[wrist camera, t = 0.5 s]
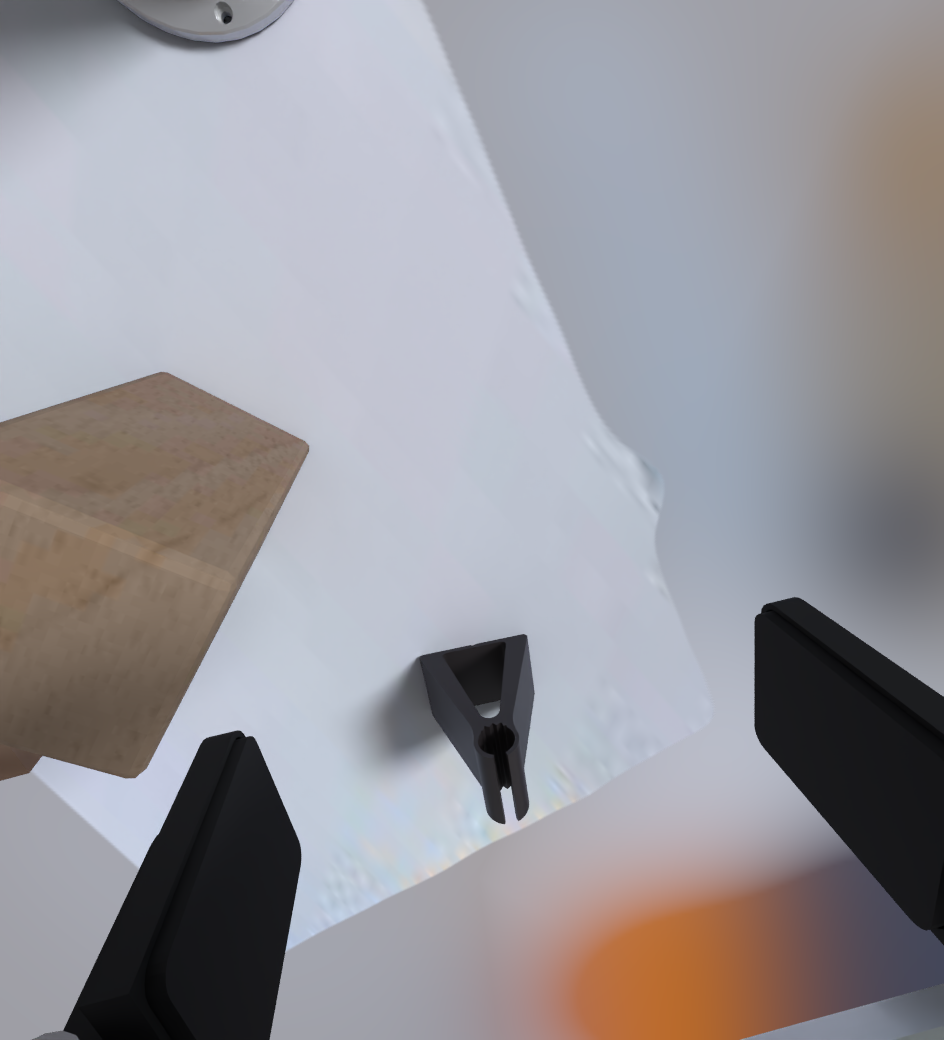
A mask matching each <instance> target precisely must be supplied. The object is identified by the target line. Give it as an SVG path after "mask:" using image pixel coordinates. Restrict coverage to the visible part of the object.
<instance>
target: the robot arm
mask: <svg viewBox="0 0 944 1040" xmlns="http://www.w3.org/2000/svg"><path fill="white" fill-rule="evenodd" d="M118 1H119V2H120V3H121V4H123V5H124V6H125V7H127V8H128V9H129V10H130V11H132V12H133V13H134V14H136V15H137V16H138V17H140V18H141V19H142V20H144V21H146V22H148V23H150V24H152V25H154V26H156V27H157V28H159V29H161V30H163V31H165V32H167V33H170V34H173V35H176V36H180V37H183V38H186V39H189V40H193V41H205V42H216V43H217V42H224V41H231V40H238V39H242V38H244V37H247V36H249V35H252V34H254V33H256V32H259V31H261V30H263V29H264V28H265V27H267V26H268V25H269V24H271V23H272V22H273V21H275V20H276V19H277V18H279V17H280V16H281V15H282V14H283V12H284V11H285V10H286V9H287V8H288V7H289V5H290V4H291V3H292V2H293V1H294V0H118ZM225 16H231V17H232V21H231V22H230V23H228V24H224V21H223V20H224V17H225ZM755 731H756V735H757V737H758V739H759V741H760V743H761V745H762V746H763V747H764V749H765V750H766V751H767V752H768V753H769V755H770V756H771V757H772V758H773V759H774V760H775V762H776V763H777V764H778V765H779V766H780V767H781V769H782V770H783V771H784V772H785V773H786V774H787V776H788V777H789V778H790V779H791V780H792V781H793V783H794V784H795V785H796V786H797V787H798V789H800V791H801V792H802V793H803V794H804V795H805V797H806V798H807V799H808V800H809V801H810V802H811V804H812V805H813V806H814V807H815V808H816V809H817V811H818V812H819V813H820V814H821V815H822V817H823V818H824V819H825V820H826V821H827V822H828V823H829V825H830V826H831V827H832V828H833V829H834V831H835V832H836V833H837V834H838V835H839V836H840V838H841V839H842V840H843V841H844V842H845V843H846V845H847V846H848V847H849V848H850V849H851V850H852V852H853V853H854V854H855V855H856V856H857V858H858V859H859V860H860V861H861V862H862V863H863V864H864V866H865V867H866V868H867V869H868V870H869V872H870V873H871V874H872V875H873V876H874V877H875V878H876V880H877V881H878V882H879V883H880V884H881V886H882V887H883V888H884V889H885V890H886V891H887V893H888V894H889V895H890V896H891V897H892V898H893V900H894V901H895V902H896V903H897V904H898V905H899V907H900V908H901V909H902V910H903V911H904V913H905V914H906V915H907V916H908V917H909V918H910V919H911V920H912V921H913V922H914V923H915V924H916V925H917V926H919V927H920V928H921V929H924V930H931V931H932V932H933V933H934V935H935V936H936V937H937V938H938V939H939V940H940V941H941V943H942V944H943V945H944V697H943V696H942V695H940V694H939V693H937V692H936V691H934V690H933V689H931V688H930V687H929V686H927V685H926V684H924V683H923V682H921V681H920V680H918V679H917V678H916V677H914V676H913V675H911V674H909V673H908V672H907V671H905V670H904V669H902V668H901V667H900V666H898V665H897V664H895V663H894V662H892V661H891V660H889V659H888V658H887V657H885V656H884V655H882V654H881V653H879V652H878V651H876V650H875V649H874V648H872V647H871V646H869V645H868V644H866V643H865V642H863V641H862V640H861V639H859V638H858V637H856V636H855V635H853V634H852V633H850V632H849V631H847V630H846V629H845V628H843V627H842V626H840V625H839V624H837V623H836V622H834V621H833V620H832V619H830V618H829V617H827V616H826V615H824V614H823V613H821V612H820V611H818V610H817V609H816V608H814V607H813V606H811V605H810V604H808V603H807V602H805V601H804V600H802V599H800V598H796V597H794V598H790V599H785V600H781V601H777V602H773V603H769V604H766V605H764V606H763V608H762V611H761V614H758V615H757V616H756V617H755ZM300 867H301V847H300V843H299V840H298V837H297V835H296V833H295V830H294V828H293V826H292V823H291V821H290V819H289V816H288V814H287V812H286V809H285V807H284V805H283V802H282V800H281V798H280V795H279V793H278V791H277V788H276V786H275V784H274V781H273V779H272V777H271V774H270V772H269V770H268V767H267V765H266V763H265V760H264V758H263V756H262V753H261V751H260V749H259V746H258V744H257V742H256V740H255V738H254V737H252V736H249V737H245V735H244V734H243V733H242V732H241V731H233V732H229V733H225V734H221V735H217V736H212V737H208V738H206V739H204V740H203V742H202V743H201V745H200V747H199V749H198V751H197V753H196V756H195V758H194V760H193V762H192V764H191V766H190V768H189V771H188V773H187V775H186V777H185V779H184V781H183V784H182V786H181V788H180V790H179V792H178V794H177V796H176V799H175V801H174V803H173V805H172V807H171V809H170V811H169V814H168V816H167V818H166V820H165V822H164V824H163V826H162V829H161V831H160V833H159V834H158V835H157V836H156V838H155V839H154V841H153V843H152V844H151V846H150V848H149V850H148V852H147V854H146V856H145V859H144V861H143V863H142V865H141V867H140V869H139V871H138V874H137V875H136V878H135V880H134V882H133V884H132V886H131V888H130V890H129V892H128V895H127V897H126V899H125V901H124V903H123V905H122V907H121V909H120V912H119V914H118V916H117V918H116V920H115V922H114V924H113V926H112V928H111V931H110V933H109V935H108V937H107V939H106V941H105V943H104V945H103V947H102V950H101V952H100V954H99V956H98V958H97V960H96V963H95V964H94V967H93V969H92V971H91V973H90V975H89V977H88V979H87V981H86V983H85V986H84V988H83V990H82V992H81V994H80V996H79V998H78V1001H77V1003H76V1005H75V1007H74V1009H73V1011H72V1013H71V1015H70V1018H69V1020H68V1022H67V1024H66V1026H65V1028H64V1030H63V1031H58V1032H52V1033H46V1034H43V1035H41V1036H39V1037H37V1038H35V1039H32V1040H269V1039H270V1033H271V1028H272V1023H273V1017H274V1012H275V1005H276V1000H277V995H278V989H279V984H280V978H281V973H282V966H283V961H284V955H285V950H286V945H287V939H288V934H289V928H290V922H291V917H292V911H293V906H294V900H295V894H296V889H297V883H298V878H299V872H300ZM742 1040H944V984H941V985H937V986H933V987H930V988H927V989H922V990H919V991H915V992H912V993H908V994H905V995H901V996H897V997H893V998H890V999H886V1000H883V1001H879V1002H875V1003H872V1004H868V1005H865V1006H861V1007H857V1008H854V1009H850V1010H846V1011H843V1012H839V1013H835V1014H832V1015H828V1016H824V1017H821V1018H817V1019H814V1020H810V1021H806V1022H803V1023H799V1024H796V1025H792V1026H789V1027H785V1028H781V1029H777V1030H774V1031H770V1032H767V1033H763V1034H759V1035H756V1036H752V1037H749V1038H745V1039H742Z"/></svg>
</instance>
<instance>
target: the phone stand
mask: <svg viewBox="0 0 944 1040" xmlns="http://www.w3.org/2000/svg"><path fill="white" fill-rule="evenodd" d="M420 661H421V665H422V670H423V674H424V679H425V683H426V687H427V692H428V696H429V700H430V705H431V709H432V714H433V716H434V718H435V719H436V721H437V722H438V724H439V725H440V727H441V728H442V729H443V731H444V732H445V734H446V735H447V737H448V738H449V740H450V741H451V743H452V744H453V745H454V747H455V748H456V750H457V751H458V753H459V754H460V756H461V757H462V759H463V760H464V762H465V763H466V764H467V766H468V767H469V769H470V770H471V772H472V773H473V775H474V776H475V778H476V779H477V780H478V782H479V783H480V785H481V786H482V789H483V795H484V800H485V805H486V810H487V813H488V815H489V816H490V817H491V818H492V819H493V820H494V821H496V822H498V823H501V824H505V815H504V809H503V803H502V798H501V792H500V790H501V789H502V787H503V786H504V787H505V788H507V789H508V788H509V787H510V786H511V788H512V795H513V801H514V807H515V813H516V818H517V819H518V821H519V820H521V819H522V818H523V817H524V816H525V815H526V813H527V811H528V808H529V799H528V792H527V785H526V779H525V772H524V764H525V757H526V750H527V743H528V736H529V729H530V722H531V715H532V708H533V701H534V694H535V693H534V685H533V678H532V670H531V662H530V655H529V647H528V639H527V635H525V634H522V635H517V636H512V637H507V638H503V639H498V640H493V641H488V642H484V643H479V644H476V645H475V646H471V645H469V646H465V647H460V648H455V649H450V650H446V651H441V652H436V653H431V654H426V655H423V656H421V657H420ZM498 700H501V703H500V711H499V713H498V715H496V716H495V717H493V718H483V717H482V716H480V714H479V713H478V711H477V710H476V708H475V707H474V706H476V705H480V704H485V703H489V702H494V701H498Z"/></svg>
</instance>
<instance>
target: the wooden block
mask: <svg viewBox="0 0 944 1040" xmlns="http://www.w3.org/2000/svg"><path fill="white" fill-rule="evenodd" d="M308 452H309V445H308V444H307V443H306V442H305V441H303V440H301V439H299V438H297V437H295V436H293V435H291V434H289V433H287V432H285V431H283V430H281V429H279V428H277V427H275V426H273V425H271V424H269V423H267V422H265V421H263V420H261V419H259V418H257V417H255V416H253V415H251V414H249V413H247V412H245V411H243V410H241V409H239V408H237V407H235V406H233V405H231V404H229V403H227V402H225V401H223V400H221V399H219V398H217V397H215V396H213V395H211V394H209V393H207V392H205V391H203V390H201V389H199V388H197V387H195V386H193V385H191V384H189V383H187V382H185V381H183V380H181V379H179V378H177V377H175V376H173V375H171V374H169V373H165V372H159V373H156V374H153V375H150V376H146V377H143V378H140V379H137V380H134V381H131V382H127V383H124V384H121V385H118V386H115V387H112V388H108V389H105V390H102V391H99V392H96V393H93V394H89V395H86V396H83V397H80V398H77V399H74V400H70V401H67V402H64V403H61V404H58V405H55V406H51V407H48V408H45V409H42V410H39V411H36V412H32V413H29V414H26V415H23V416H20V417H17V418H13V419H10V420H7V421H4V422H1V423H0V744H2V745H6V746H9V747H13V748H17V749H20V750H24V751H28V752H31V753H35V754H39V755H42V756H46V757H50V758H53V759H57V760H61V761H64V762H68V763H72V764H75V765H79V766H83V767H86V768H90V769H94V770H97V771H101V772H105V773H108V774H112V775H116V776H119V777H123V778H136V777H137V776H138V775H139V774H140V773H141V772H143V771H144V770H145V769H146V768H147V766H148V765H149V763H150V761H151V759H152V757H153V755H154V753H155V751H156V749H157V747H158V745H159V743H160V741H161V739H162V737H163V736H164V734H165V732H166V730H167V728H168V726H169V724H170V722H171V720H172V718H173V716H174V714H175V712H176V710H177V709H178V707H179V705H180V703H181V701H182V699H183V697H184V695H185V693H186V691H187V689H188V687H189V685H190V683H191V681H192V680H193V678H194V676H195V674H196V672H197V670H198V668H199V666H200V664H201V662H202V660H203V658H204V656H205V654H206V652H207V651H208V649H209V647H210V645H211V643H212V641H213V639H214V637H215V635H216V633H217V631H218V629H219V627H220V625H221V623H222V622H223V620H224V618H225V616H226V614H227V612H228V610H229V608H230V606H231V604H232V602H233V600H234V598H235V596H236V594H237V593H238V591H239V589H240V587H241V585H242V583H243V581H244V579H245V577H246V575H247V573H248V571H249V569H250V567H251V566H252V564H253V562H254V560H255V558H256V556H257V554H258V552H259V550H260V548H261V546H262V544H263V542H264V540H265V538H266V536H267V534H268V532H269V530H270V528H271V526H272V524H273V522H274V520H275V518H276V516H277V514H278V512H279V510H280V508H281V506H282V504H283V502H284V500H285V498H286V496H287V494H288V492H289V490H290V488H291V486H292V484H293V482H294V480H295V478H296V476H297V474H298V472H299V470H300V468H301V466H302V464H303V462H304V460H305V458H306V456H307V454H308Z"/></svg>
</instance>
